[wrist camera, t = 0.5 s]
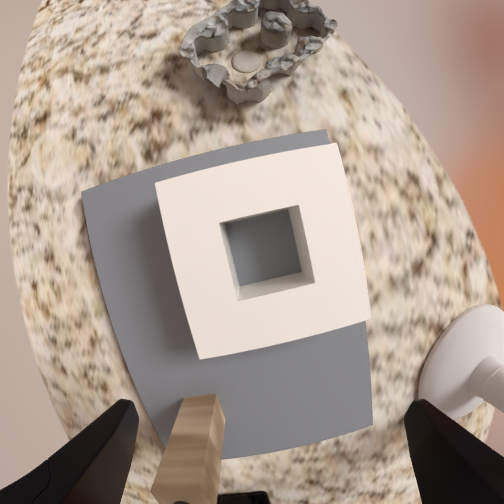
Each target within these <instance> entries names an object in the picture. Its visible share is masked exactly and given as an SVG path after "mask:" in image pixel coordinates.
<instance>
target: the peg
mask: <svg viewBox="0 0 504 504" xmlns="http://www.w3.org/2000/svg"><path fill="white" fill-rule="evenodd" d="M225 420H226V418H225V416H224V413H223V410H222V407H221V404H220V401H219V399H218V396H217V393H212V394H205V395H197V396H189V397H184V398H183V401H182V404H181V407H180V409H179V412H178V415H177V418H176V421H175V423H174V426H173V429H172V432H171V435H170V437H169V440H168V443H167V446H166V449H165V452H164V454H163V457H162V460H161V463H160V466H159V469H158V472H157V474H156V477H155V480H154V483H153V486H152V489H151V493H152V494H153V496H154V497H155V499H156V500H157V501H158V503H159V504H217V496H218V486H219V477H220V467H221V457H222V448H223V438H224V429H225Z"/></svg>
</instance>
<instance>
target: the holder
mask: <svg viewBox="0 0 504 504" xmlns="http://www.w3.org/2000/svg"><path fill="white" fill-rule="evenodd" d="M155 187H156V192H157V197H158V202H159V207H160V211H161V216H162V221H163V225H164V230H165V234H166V239H167V243H168V247H169V251H170V256H171V260H172V264H173V268H174V272H175V276H176V279H177V283H178V287H179V291H180V295H181V298H182V302H183V305H184V309H185V313H186V316H187V320H188V323H189V326H190V330H191V333H192V336H193V340H194V343H195V346H196V349H197V353H198V356H199V359H200V360H201V359H207V358H212V357H218V356H223V355H229V354H234V353H239V352H244V351H249V350H254V349H258V348H263V347H268V346H272V345H276V344H281V343H285V342H289V341H293V340H297V339H301V338H305V337H309V336H313V335H317V334H321V333H324V332H328V331H332V330H335V329H339V328H342V327H346V326H349V325H353V324H356V323H359V322H362V321H366V320H369V319H371V312H370V304H369V296H368V289H367V282H366V276H365V269H364V263H363V257H362V251H361V246H360V240H359V235H358V230H357V225H356V220H355V215H354V210H353V206H352V201H351V197H350V193H349V188H348V184H347V180H346V176H345V172H344V168H343V164H342V160H341V156H340V153H339V149H338V145H337V143H333V144H327V145H320V146H314V147H308V148H302V149H296V150H291V151H286V152H280V153H275V154H270V155H265V156H260V157H255V158H251V159H246V160H242V161H237V162H233V163H228V164H224V165H220V166H216V167H212V168H208V169H204V170H200V171H196V172H192V173H188V174H184V175H181V176H177V177H174V178H170V179H166V180H163V181H159V182H156V183H155ZM287 209H288V210H289V214H290V219H291V223H292V228H293V232H294V237H295V241H296V246H297V251H298V256H299V260H300V265H301V270H302V272H299V273H295V274H291V275H286V276H282V277H278V278H274V279H269V280H265V281H261V282H256V283H252V284H247V285H243V286H239V281H238V277H237V273H236V269H235V265H234V260H233V256H232V252H231V248H230V243H229V239H228V235H227V230H226V226H225V223H229V222H233V221H238V220H242V219H246V218H251V217H255V216H259V215H264V214H268V213H273V212H277V211H282V210H287Z"/></svg>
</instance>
